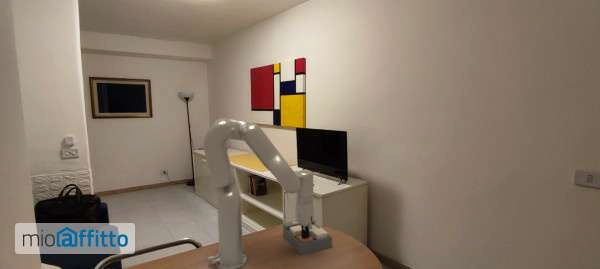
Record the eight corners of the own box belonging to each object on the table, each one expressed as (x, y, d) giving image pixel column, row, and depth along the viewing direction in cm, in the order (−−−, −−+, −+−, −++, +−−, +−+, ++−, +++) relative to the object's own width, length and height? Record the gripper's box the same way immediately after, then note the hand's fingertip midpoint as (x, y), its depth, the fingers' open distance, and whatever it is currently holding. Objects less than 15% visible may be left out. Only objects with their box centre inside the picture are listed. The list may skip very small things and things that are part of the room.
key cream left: (294, 236, 132) (294, 232, 132) (289, 231, 137) (289, 227, 137) (305, 233, 135) (305, 229, 134) (300, 228, 140) (300, 225, 139)
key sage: (308, 235, 136) (308, 231, 135) (303, 230, 141) (303, 226, 140) (319, 232, 138) (319, 228, 138) (313, 228, 143) (313, 224, 143)
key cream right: (316, 239, 129) (316, 235, 129) (310, 234, 134) (310, 230, 134) (327, 236, 131) (327, 232, 131) (321, 231, 136) (321, 227, 136)
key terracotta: (302, 246, 126) (302, 241, 125) (296, 240, 131) (296, 236, 130) (313, 243, 128) (313, 238, 128) (307, 237, 133) (307, 233, 133)
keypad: (300, 255, 124) (300, 239, 123) (283, 237, 141) (283, 223, 140) (331, 247, 131) (331, 231, 130) (311, 230, 148) (311, 217, 147)
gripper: (290, 194, 132) (290, 232, 134) (305, 205, 119) (305, 246, 121) (304, 192, 135) (305, 229, 138) (320, 202, 122) (321, 242, 124)
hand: (305, 237), depth 129 cm, fingers closed
